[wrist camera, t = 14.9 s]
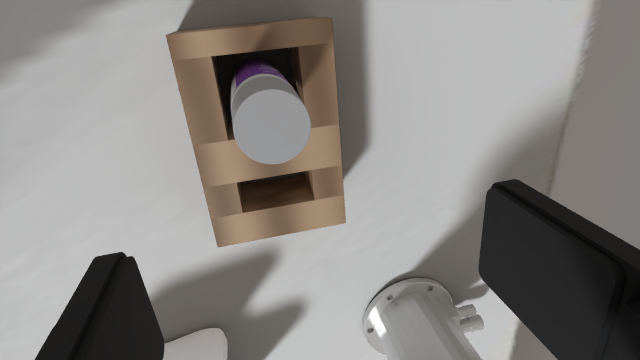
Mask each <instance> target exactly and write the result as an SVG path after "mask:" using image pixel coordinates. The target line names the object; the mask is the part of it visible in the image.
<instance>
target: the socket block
mask: <svg viewBox="0 0 640 360" xmlns="http://www.w3.org/2000/svg"><path fill="white" fill-rule="evenodd" d="M166 38H167V42H168V46H169V50H170V54H171V58H172V62H173V67H174V71H175V75H176V79H177V83H178V87H179V91H180V95H181V99H182V103H183V107H184V111H185V116H186V120H187V124H188V128H189V132H190V136H191V140H192V144H193V148H194V152H195V156H196V160H197V165H198V169H199V173H200V177H201V181H202V185H203V189H204V193H205V197H206V201H207V205H208V209H209V214H210V218H211V222H212V226H213V230H214V234H215V238H216V242H217V246H218V247H223V246H228V245H233V244H238V243H244V242H249V241H254V240H259V239H265V238H270V237H275V236H280V235H285V234H291V233H296V232H301V231H306V230H311V229H317V228H322V227H327V226H332V225H337V224H343V223H346V218H345V203H344V189H343V174H342V159H341V145H340V130H339V115H338V101H337V86H336V71H335V57H334V42H333V28H332V18H325V17H311V18H301V19H292V20H282V21H272V22H262V23H252V24H243V25H233V26H223V27H213V28H204V29H194V30H184V31H176V32H173V33H170V34H167V35H166ZM281 48H289V56H290V65H291V73H292V82H293V88H294V90H295V92H296V93H297V95H298V96H299V98H300V99H301V101H302V102H303V104H304V105H305V107H306V109H307V110H308V113H309V116H310V120H311V132H310V137H309V140H308V142H307V144H306V146H305V147H304V149H303V150H302V151H301V152H300V153H299V154H298V155H297V156H296V157H294V158H292V159H291V160H289V161H286V162H284V163H280V164H264V163H260V162H257V161H255V160H253V159H251V158H249V157H248V156H247V155H246V154H245V153H244V152H243V151H242V150H241V149H240V148H239V146H238V144H237V142H236V140H235V137H234V132H233V124H232V121H228V116H227V111H226V106H225V101H224V96H223V91H222V86H221V81H220V76H219V70H218V65H217V60H216V56H219V55H228V54H237V53H245V52H254V51H263V50H272V49H281ZM297 172H303V175H299V176H293V177H287V178H281V179H275V180H269V181H263V182H257V183H252V184H246V185H241V182H243V181H249V180H255V179H261V178H267V177H273V176H279V175H285V174H291V173H297Z"/></svg>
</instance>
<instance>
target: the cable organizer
mask: <svg viewBox="0 0 640 360" xmlns="http://www.w3.org/2000/svg"><path fill="white" fill-rule="evenodd" d="M164 347H165V348H164V357H163V360H227V339H226V337H225V335H224V333H223V331H222V330H221V329H219V328H208V329H202V330H199V331H196V332H194V333H191V334H188V335H186V336H183V337H181V338H179V339H176V340H174V341H171V342H168V343H165V344H164Z"/></svg>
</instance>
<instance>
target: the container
mask: <svg viewBox="0 0 640 360" xmlns="http://www.w3.org/2000/svg"><path fill="white" fill-rule="evenodd" d="M231 115H232V124H233V132H234V137H235V140H236V142H237V144H238V146H239V148H240V149H241V150H242V151H243V152H244V153H245V154H246V155H247V156H248V157H249V158H251V159H253V160H255V161H257V162H260V163H264V164H280V163H284V162H286V161H289V160H291V159H292V158H294V157H296V156H297V155H298V154H299V153H300V152H301V151H302V150H303V149H304V147H305V146H306V144H307V142H308V140H309V137H310V132H311V120H310V116H309V113H308V110H307V109H306V107H305V105H304V104H303V102H302V101H301V99H300V98H299V96H298V95H297V93H296V92H295V90H294V88H293V87H292V86H291V85H290V83H289V82H288V81H287V80H286V79H285V78H284V76H283V75H282V74H281V73H280V72H279V70H278V69H277V68H276V67H275V66H274V65H273V64H272V63H270V62H269V61H267V60H264V59H261V58H251V59H247V60H245V61H243V62H242V63H240V64H239V65H238V66H237V67H236V69H235V70H234V72H233V75H232V79H231Z"/></svg>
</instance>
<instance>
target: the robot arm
mask: <svg viewBox="0 0 640 360" xmlns="http://www.w3.org/2000/svg"><path fill="white" fill-rule="evenodd" d="M479 273H480V276H481V278H482V279H483V281H484V282H485V283H486V284H487V285H488V286H489V287H490V288H491V289H492V290H493V291H494V292H495V294H496V295H497V296H498V297H499V298H500V299H501V300H502V301H503V302H504V303H505V304H506V305H507V306H508V307H509V308H510V309H511V310H512V312H513V313H514V314H515V315H516V316H517V317H518V318H519V319H520V320H521V321H522V322H523V323H524V324H525V325H526V326H527V327H528V328H529V329H530V330H531V332H532V333H533V334H534V335H535V336H536V337H537V338H538V339H539V340H540V341H541V342H542V343H543V344H544V345H545V346H546V347H547V348H548V350H549V351H550V352H551V353H552V354H553V355H554V356H555V357H556V358H557V359H558V360H640V250H639V249H637V248H635V247H634V246H632V245H630V244H629V243H627V242H625V241H623V240H622V239H620V238H618V237H616V236H615V235H613V234H611V233H609V232H608V231H606V230H604V229H603V228H601V227H599V226H597V225H595V224H594V223H592V222H590V221H588V220H587V219H585V218H583V217H582V216H580V215H578V214H576V213H575V212H573V211H571V210H569V209H567V208H566V207H564V206H563V205H561V204H559V203H557V202H555V201H554V200H552V199H550V198H549V197H547V196H545V195H543V194H542V193H540V192H538V191H536V190H535V189H533V188H531V187H529V186H528V185H526V184H524V183H523V182H521V181H519V180H516V179H514V180H508V181H502V182H497V183H494V184H493V185H492V187H491V189H489V190H488V192H487V195H486V203H485V213H484V222H483V231H482V240H481V250H480V259H479ZM462 317H465V318H463V319H460V318H462ZM483 328H484V322H483V320H482V318H481V316H480V315H478V314H476V309H475V307H474V305H473V304H470V305H466V306H462V307H460V308H457V307H455V306H454V307H453V301H452V299H451V296H450V295H449V293H448V292H447V290H446V289H445V288H444V287H443V286H442V285H441V284H439V283H438V282H436V281H434V280H431V279H427V278H411V279H407V280H403V281H400V282H397V283H395V284H393V285H391V286H389V287H388V288H386V289H385V290H383V291H382V292H381V293H379V294H378V295H377V296H376V297H375V298H374V299H373V301H372V302H371V303H370V305H369V306H368V308H367V310H366V312H365V314H364V318H363V331H364V335H365V337H366V339H367V342H368V343H369V344H370V346H371V347H372V348H373V349H375V350H376V351H378V352H380V353H382V354H386V356H387V358H388V360H482V359H481V357H480V356H479V354H478V353H477V352H476V350H475V349H474V348H473V346H472V345H471V343H470V342H469V341H468V339H467V338H466V337H465V335H464V334H463V333H466V332H473V331H477V330H480V329H483ZM164 348H165V347H164V339H163V336H162V333H161V330H160V327H159V324H158V322H157V319H156V316H155V313H154V311H153V308H152V305H151V302H150V299H149V297H148V294H147V291H146V288H145V286H144V283H143V280H142V277H141V274H140V272H139V269H138V266H137V263H136V261H135V259H134V257H132V256H130V257H126V255H125V254H124V253H123V252H119V253H113V254H108V255H102V256H97V257H95V258H94V259H93V261H92V263H91V264H90V266H89V268H88V270H87V271H86V273H85V275H84V277H83V278H82V280H81V282H80V284H79V285H78V287H77V289H76V291H75V292H74V294H73V296H72V297H71V299H70V301H69V303H68V304H67V306H66V308H65V310H64V311H63V313H62V315H61V317H60V318H59V320H58V322H57V324H56V325H55V326H54V328H53V329H52V331H51V332H50V334H49V336H48V338H47V339H46V341H45V343H44V344H43V346H42V348H41V350H40V351H39V353H38V355H37V357H36V358H35V360H163V357H164Z"/></svg>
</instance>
